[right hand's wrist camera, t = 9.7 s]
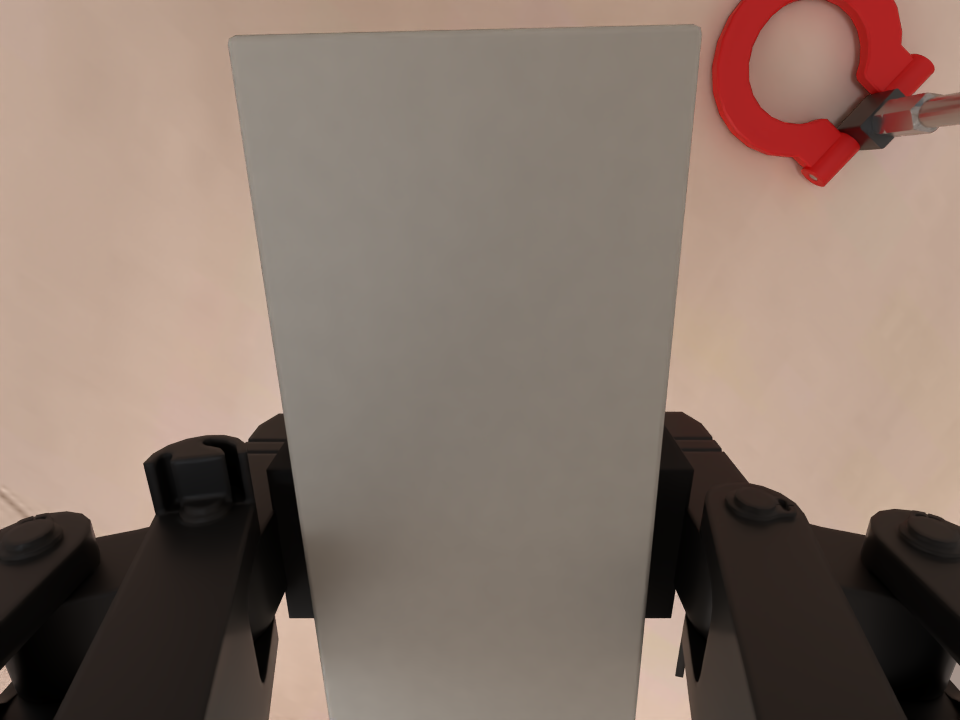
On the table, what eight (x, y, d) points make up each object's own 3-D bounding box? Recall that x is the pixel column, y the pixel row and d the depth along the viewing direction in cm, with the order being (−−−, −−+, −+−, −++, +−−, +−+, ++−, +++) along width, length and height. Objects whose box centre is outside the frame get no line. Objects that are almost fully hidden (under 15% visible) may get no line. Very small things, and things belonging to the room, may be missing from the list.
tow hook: (672, 81, 28) (800, 202, 29) (810, 4, 15) (1017, 220, 17) (804, -79, 26) (935, 61, 27) (1086, -316, 13) (1296, -35, 15)
